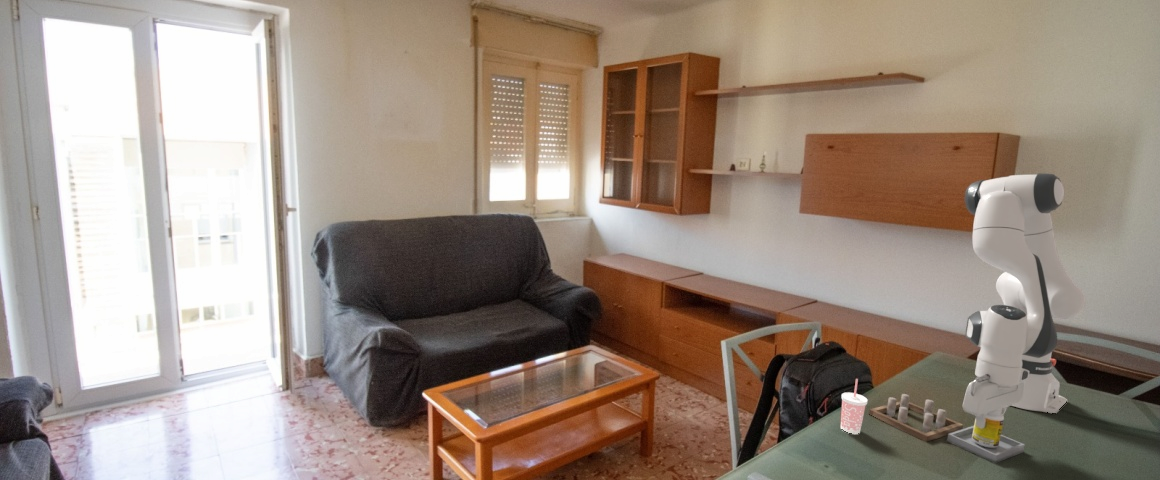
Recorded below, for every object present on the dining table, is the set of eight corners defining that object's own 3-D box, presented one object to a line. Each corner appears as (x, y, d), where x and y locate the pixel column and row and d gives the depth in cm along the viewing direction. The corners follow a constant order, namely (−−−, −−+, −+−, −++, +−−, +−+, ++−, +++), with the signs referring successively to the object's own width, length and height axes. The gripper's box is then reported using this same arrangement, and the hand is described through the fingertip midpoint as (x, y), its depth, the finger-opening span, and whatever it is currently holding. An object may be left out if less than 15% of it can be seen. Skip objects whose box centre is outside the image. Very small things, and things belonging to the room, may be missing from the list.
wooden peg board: (904, 404, 164) (906, 388, 163) (962, 429, 150) (965, 412, 149) (868, 414, 156) (870, 397, 155) (926, 441, 142) (929, 423, 141)
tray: (975, 431, 149) (976, 424, 149) (1023, 452, 139) (1024, 444, 139) (947, 441, 143) (948, 433, 143) (994, 463, 133) (996, 455, 133)
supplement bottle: (998, 451, 137) (1006, 412, 136) (971, 443, 140) (978, 405, 139) (997, 442, 142) (1005, 404, 140) (971, 435, 145) (978, 397, 143)
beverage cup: (832, 426, 148) (838, 375, 146) (849, 422, 151) (855, 373, 148) (851, 437, 143) (858, 385, 140) (868, 433, 145) (875, 382, 143)
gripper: (988, 383, 131) (978, 438, 133) (1033, 370, 140) (1023, 422, 142) (959, 373, 136) (951, 426, 138) (1005, 361, 146) (996, 411, 148)
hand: (988, 424), depth 140 cm, fingers closed on supplement bottle, 5 cm apart
